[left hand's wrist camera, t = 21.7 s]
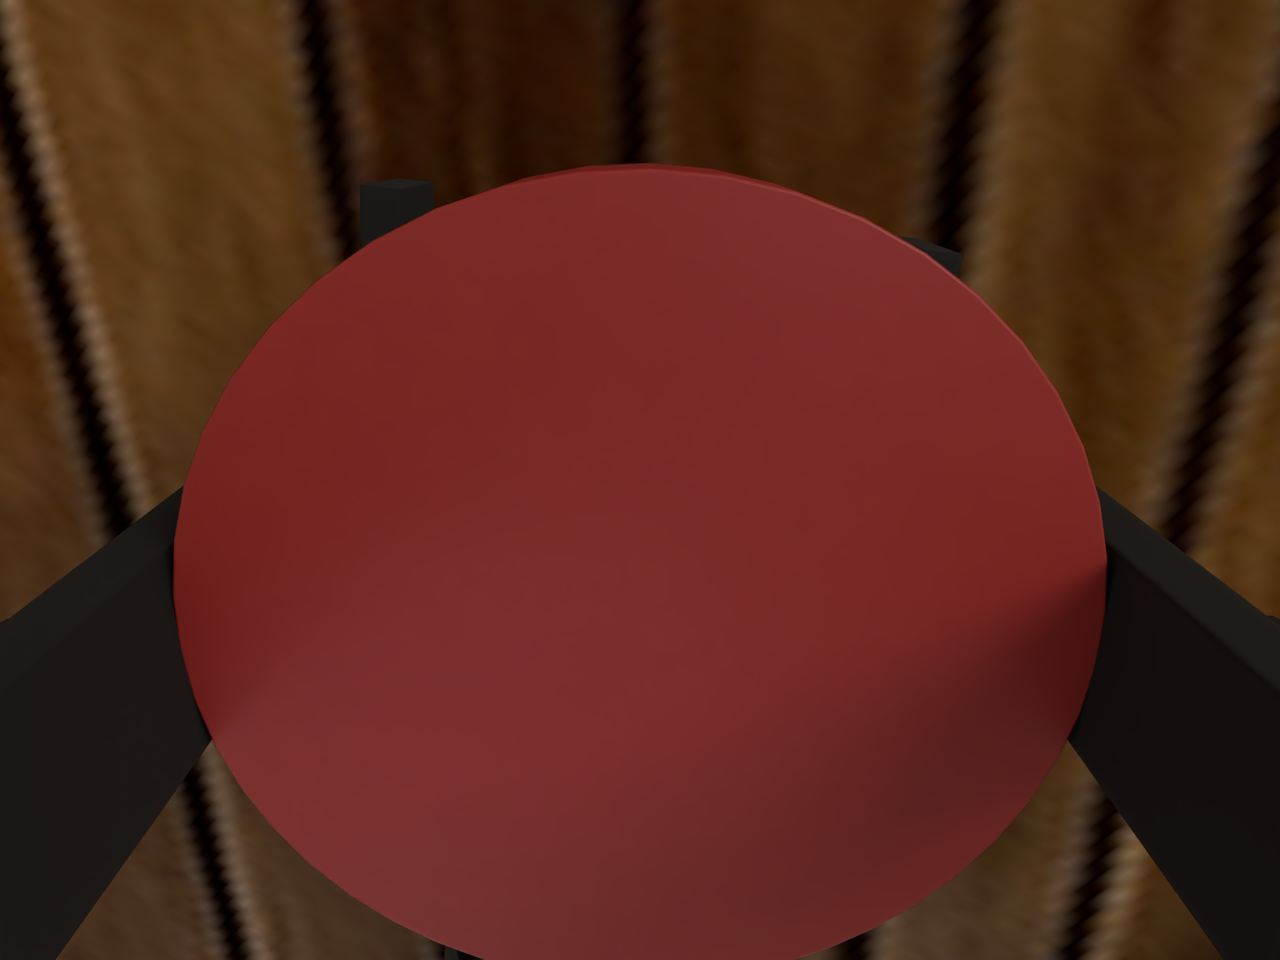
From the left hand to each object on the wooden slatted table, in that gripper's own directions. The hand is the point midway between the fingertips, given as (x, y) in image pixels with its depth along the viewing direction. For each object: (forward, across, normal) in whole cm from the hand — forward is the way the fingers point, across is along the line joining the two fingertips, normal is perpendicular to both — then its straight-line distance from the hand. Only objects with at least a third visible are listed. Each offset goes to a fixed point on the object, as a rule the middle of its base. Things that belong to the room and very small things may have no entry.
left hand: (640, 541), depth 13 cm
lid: (-3, 0, 0) cm, 3 cm away
